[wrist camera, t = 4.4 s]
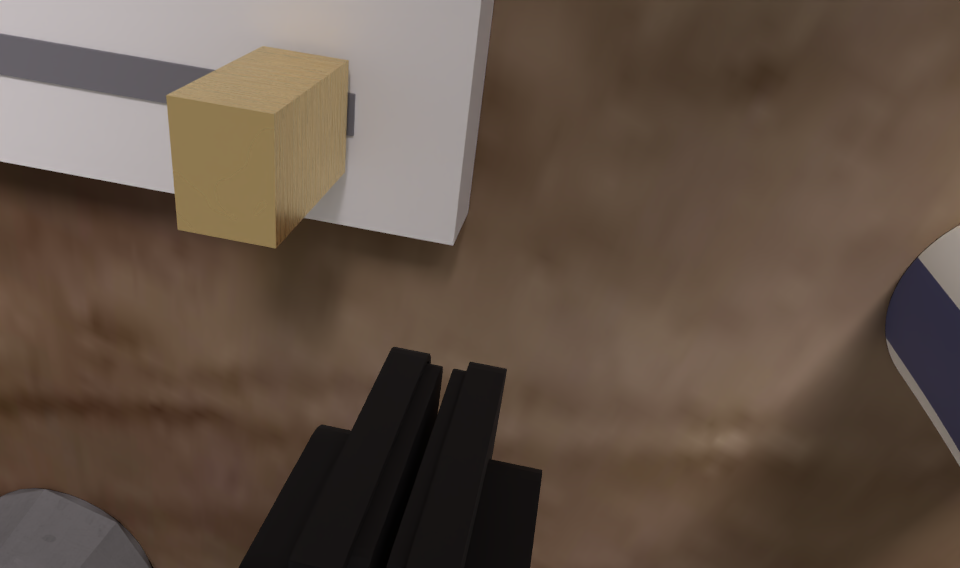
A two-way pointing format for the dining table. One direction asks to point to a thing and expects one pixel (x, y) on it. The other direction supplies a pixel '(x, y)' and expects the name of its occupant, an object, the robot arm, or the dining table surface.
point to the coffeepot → (62, 533)
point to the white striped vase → (930, 334)
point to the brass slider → (258, 144)
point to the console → (226, 37)
